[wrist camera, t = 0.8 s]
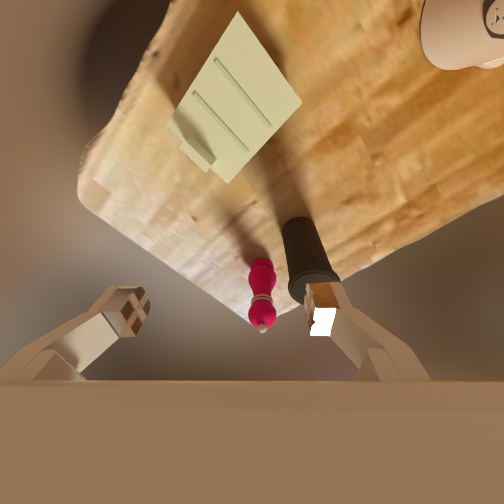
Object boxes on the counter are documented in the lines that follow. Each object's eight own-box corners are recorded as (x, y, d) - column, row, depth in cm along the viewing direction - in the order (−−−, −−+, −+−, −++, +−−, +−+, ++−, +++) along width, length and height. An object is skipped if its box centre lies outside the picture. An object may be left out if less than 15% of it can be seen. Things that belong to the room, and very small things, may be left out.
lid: (239, 16, 27) (233, -5, 22) (300, 103, 32) (307, 102, 27) (169, 124, 34) (153, 127, 29) (228, 181, 39) (223, 192, 34)
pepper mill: (257, 252, 54) (255, 315, 38) (280, 264, 56) (288, 328, 40) (244, 270, 58) (237, 335, 41) (266, 280, 60) (268, 346, 43)
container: (286, 251, 53) (297, 315, 37) (275, 222, 49) (282, 280, 32) (320, 241, 51) (347, 304, 35) (311, 210, 47) (338, 265, 30)
